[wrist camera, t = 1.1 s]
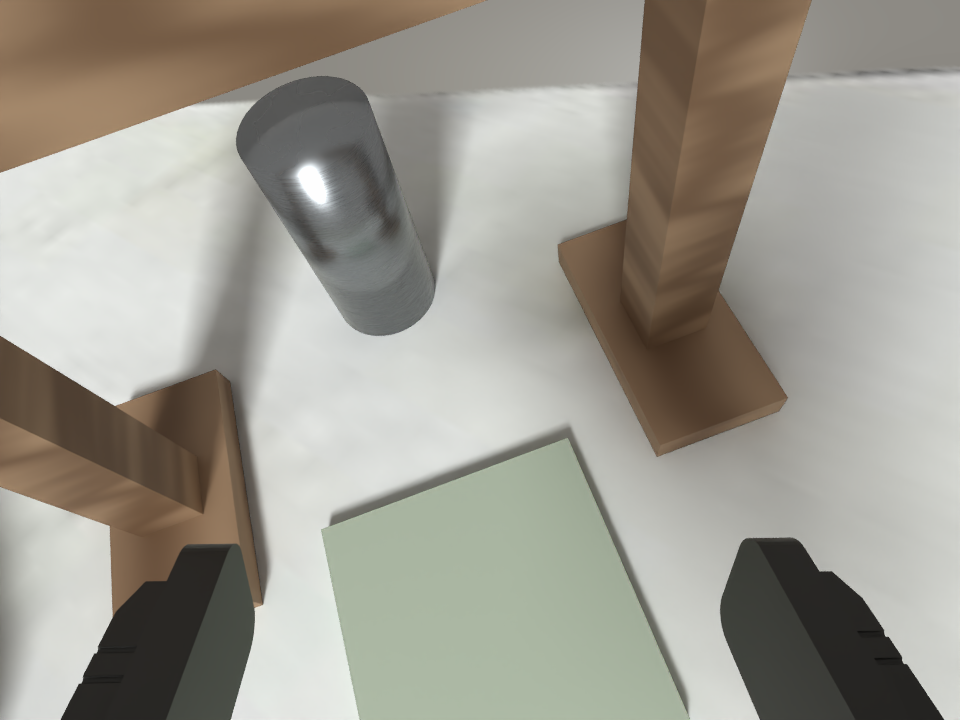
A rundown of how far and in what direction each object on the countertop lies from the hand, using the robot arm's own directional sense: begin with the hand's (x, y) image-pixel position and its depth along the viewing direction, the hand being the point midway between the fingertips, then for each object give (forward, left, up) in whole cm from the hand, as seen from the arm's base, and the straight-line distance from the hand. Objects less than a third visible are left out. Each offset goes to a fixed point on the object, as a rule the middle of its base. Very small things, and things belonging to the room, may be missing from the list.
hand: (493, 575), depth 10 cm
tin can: (-10, -17, -18) cm, 27 cm away
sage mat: (+1, -3, -18) cm, 18 cm away
